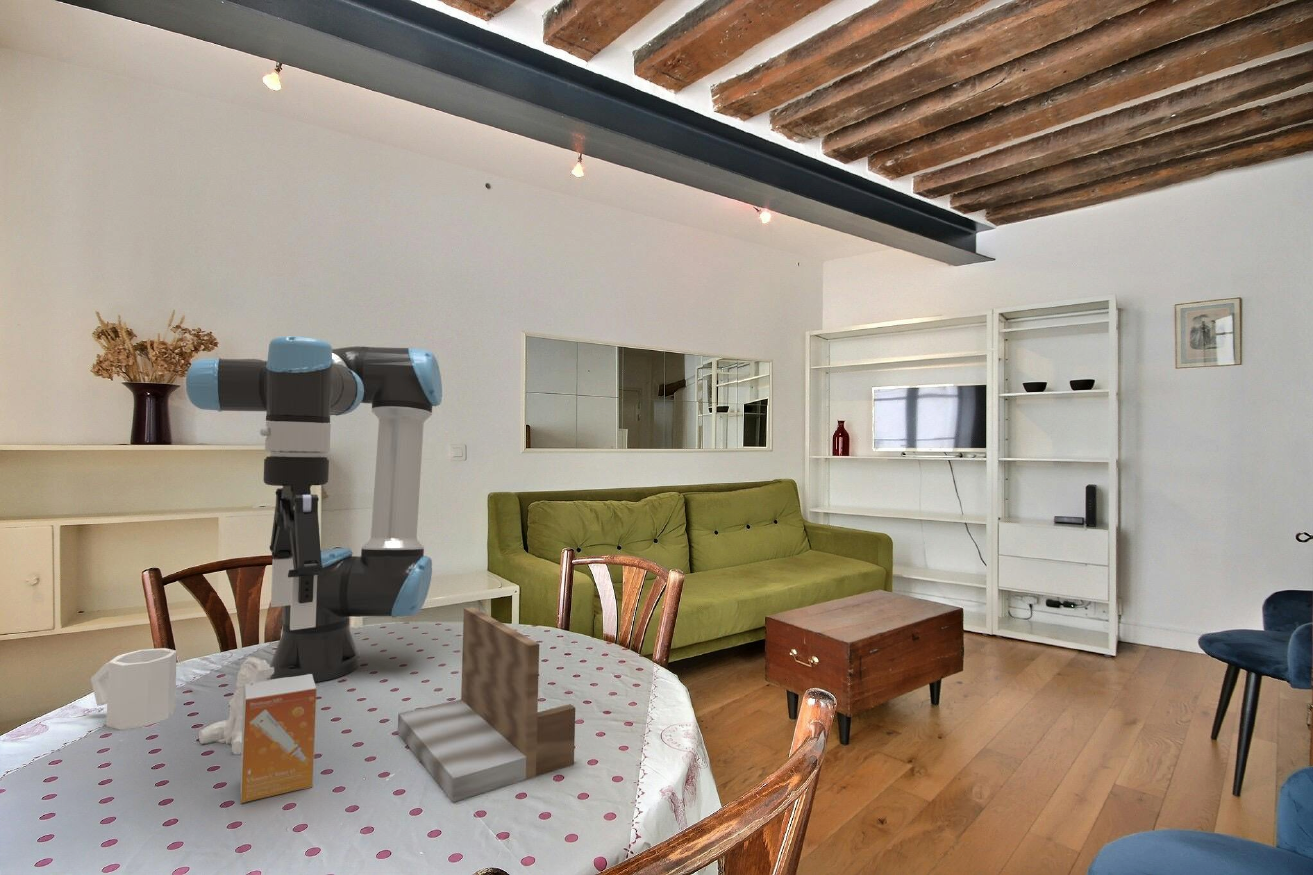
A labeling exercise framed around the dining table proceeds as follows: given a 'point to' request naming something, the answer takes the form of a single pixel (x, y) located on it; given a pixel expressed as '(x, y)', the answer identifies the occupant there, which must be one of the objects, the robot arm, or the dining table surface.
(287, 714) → the small box
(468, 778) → the wall board
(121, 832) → the dining table surface
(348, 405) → the robot arm
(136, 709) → the mug
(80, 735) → the dining table surface
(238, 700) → the sitting furry creature
